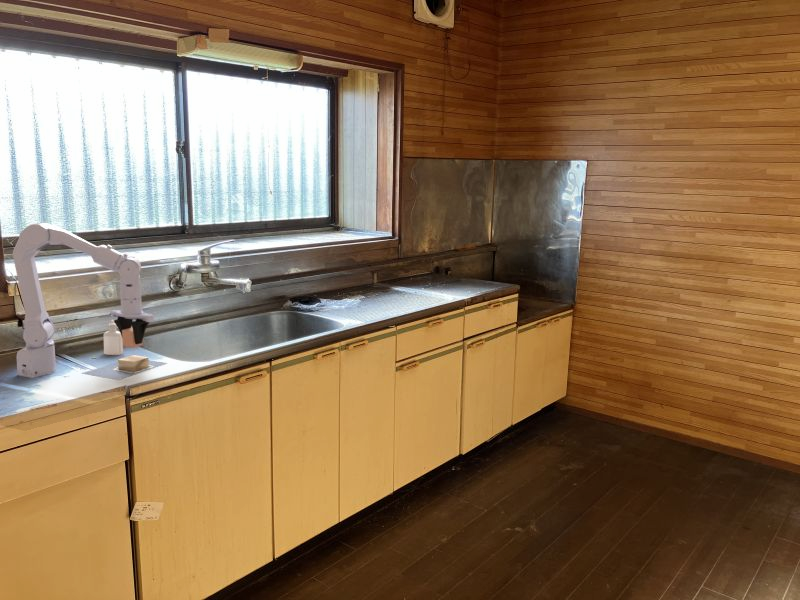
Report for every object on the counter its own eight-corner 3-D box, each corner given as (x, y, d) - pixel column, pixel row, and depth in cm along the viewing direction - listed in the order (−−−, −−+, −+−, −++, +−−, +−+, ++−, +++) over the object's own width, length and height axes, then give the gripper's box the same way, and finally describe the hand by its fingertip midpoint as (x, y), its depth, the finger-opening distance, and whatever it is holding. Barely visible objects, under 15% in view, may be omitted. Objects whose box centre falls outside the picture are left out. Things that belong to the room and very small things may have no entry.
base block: (134, 371, 189) (133, 362, 189) (118, 369, 191) (118, 359, 191) (148, 366, 195) (148, 357, 194) (133, 364, 197) (133, 355, 196)
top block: (133, 347, 189) (132, 331, 188) (122, 346, 191) (122, 330, 190) (143, 345, 193) (142, 328, 192) (132, 343, 194) (132, 327, 194)
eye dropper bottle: (112, 358, 205) (111, 322, 203) (102, 355, 208) (100, 319, 206) (125, 355, 209) (123, 320, 207) (114, 353, 212) (113, 317, 210)
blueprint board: (118, 382, 181) (118, 379, 181) (81, 375, 186) (81, 372, 186) (167, 365, 200) (167, 362, 200) (132, 359, 205) (132, 357, 204)
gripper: (160, 298, 190) (161, 342, 193) (122, 294, 196) (124, 337, 198) (142, 302, 184) (144, 347, 186) (104, 297, 189) (106, 341, 191)
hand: (132, 342), depth 192 cm, fingers closed on top block, 4 cm apart
